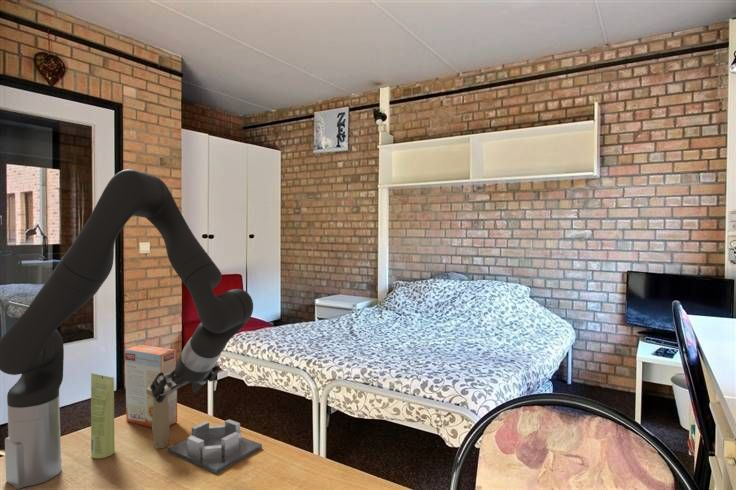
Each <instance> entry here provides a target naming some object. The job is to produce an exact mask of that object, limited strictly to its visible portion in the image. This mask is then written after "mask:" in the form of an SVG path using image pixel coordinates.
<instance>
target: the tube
mask: <svg viewBox="0 0 736 490" xmlns="http://www.w3.org/2000/svg"><path fill="white" fill-rule="evenodd" d="M90 386H91V387H90V413H91V414H90V455H91V457H92V458H93V459H104V458H108V457H110V456H111V455H113V454H114V453H115V447H116V446H115V445H116V444H115V443H116V442H115V377H113V376H107V375H103V374H102V375H101V374H98V373H94V372H93V373H92V372H91V373H90Z"/></svg>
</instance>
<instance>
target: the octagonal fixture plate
mask: <svg viewBox="0 0 736 490" xmlns="http://www.w3.org/2000/svg"><path fill="white" fill-rule="evenodd" d="M261 449H263V445H262V443H259V442H256V441H254V440H251V439H248V438H246V437H243V436H242V429H241V423H240V422H238V421H235V420H232V419H227V420H225V421H224V424H220V425H219V424H218V425H217V424H216V425H210V422H209V421H203V422H200V423H199V424H197V425H194V426H192V427H191V434H189V436H188V437H187V439H185V440H183V441H180V442H178V443H176V444H173V445H171V446H169V447H167V448H166V450H167V453H168V454H171V455H173V456H175V457H177V458H180V459H182V460H184V461H186V462H188V463H190V464H192V465H195V466H197V467H199V468H201V469H204V470H206V471H208V472H210V473H213V474H215V475H218V474H219V473H221V472H222V471H224V470H226V469H228V468H229V467H231V466H233V465H236V464H237V463H238V462H240V461H242V460H244V459H246V458H247V457H250V456H251V455H253V454H255V453H256V452H258V451H259V450H261Z"/></svg>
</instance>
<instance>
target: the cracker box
mask: <svg viewBox="0 0 736 490" xmlns="http://www.w3.org/2000/svg"><path fill="white" fill-rule="evenodd" d="M124 359H125V360H124V361H125V362H124V364H125V367H124V368H125V411H126V412H125V413H126V414H125V415H126V416H125V417H126V419H125V420H126V422H130V423H133V424H138V425H141V426H146V427H148V428H152V419H153V397H151V396H149V395H148V394H147V388H148V387H149V386H151V384H152V383H153V381H154V380H155V378H156V377H157V375H158V374H159V373H161V372H163V373H164V375H168V374H170V373H171V372H172V371H173V370H175V367H176V362H177V349H174V348H173V349H171V348H165V347H158V346H153V345H147V344H139V345H136V346H131V347H128V348H125V350H124ZM172 382H173V381H172ZM173 385H174V386H175V385H176V384H175V383H174V382H173ZM168 411H169V427H170V426H172V425H174V424H176V423H178V389H177V390H175V391H173V393H172V394H170V395H168Z"/></svg>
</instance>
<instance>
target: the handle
mask: <svg viewBox="0 0 736 490" xmlns="http://www.w3.org/2000/svg"><path fill="white" fill-rule="evenodd" d="M164 387H165V390H166V389H167V388H168V386H167V385H166V386H164ZM172 393H173V391H170V392H169V393H167V394H166V396H165V398H164V400H163V401H162V402H161V403H158V401H157V402H156V399H155V397H153V393H152V390H151V388H150V386H149V387H148V388H147V394H148V395H149V396H151V397H153V419H152V427H151V429H152V439H153V446H154V447H155V449H157V450H158V449H164V448H165V447H168V445H169V441H170V440H169V438H170V426H169V411H168V395H170V394H172Z"/></svg>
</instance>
